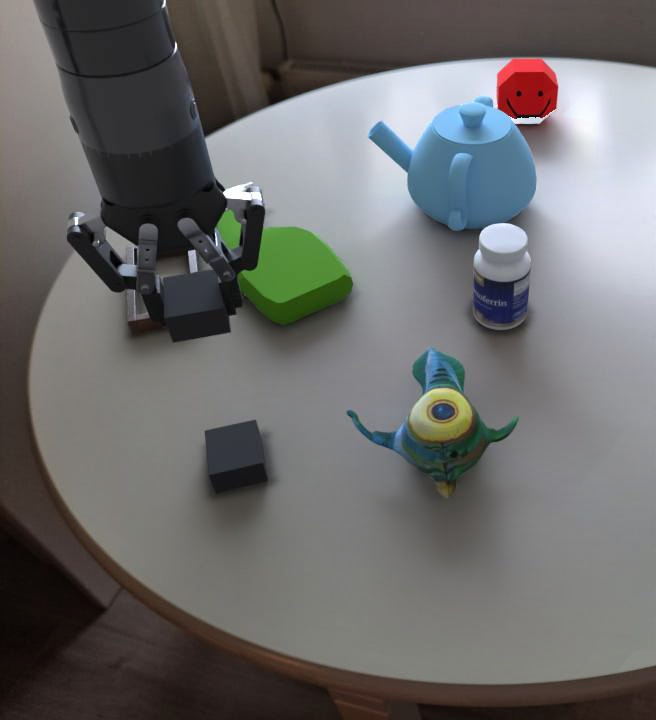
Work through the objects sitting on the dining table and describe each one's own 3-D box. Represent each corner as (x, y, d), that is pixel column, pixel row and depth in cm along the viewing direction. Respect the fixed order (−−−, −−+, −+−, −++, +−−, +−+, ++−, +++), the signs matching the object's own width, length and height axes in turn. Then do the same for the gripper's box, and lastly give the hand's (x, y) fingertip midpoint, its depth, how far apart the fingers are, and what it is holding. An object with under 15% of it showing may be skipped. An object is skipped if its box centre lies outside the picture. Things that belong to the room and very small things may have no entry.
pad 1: (172, 343, 62) (163, 318, 60) (171, 301, 66) (162, 277, 64) (231, 332, 63) (223, 308, 61) (226, 292, 66) (219, 267, 65)
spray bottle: (271, 334, 82) (179, 220, 95) (364, 293, 86) (263, 190, 100) (265, 312, 79) (172, 199, 93) (361, 271, 84) (259, 169, 98)
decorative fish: (538, 433, 73) (542, 389, 69) (447, 520, 66) (446, 477, 62) (433, 365, 79) (431, 321, 75) (341, 439, 72) (333, 395, 68)
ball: (498, 132, 110) (500, 79, 104) (495, 103, 116) (496, 51, 110) (556, 132, 110) (561, 79, 105) (550, 103, 116) (555, 51, 110)
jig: (132, 335, 81) (127, 321, 80) (130, 258, 90) (125, 245, 88) (205, 321, 83) (201, 308, 82) (197, 247, 91) (193, 234, 90)
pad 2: (215, 493, 68) (208, 475, 66) (210, 448, 71) (204, 430, 69) (268, 481, 69) (262, 462, 67) (261, 437, 72) (256, 418, 70)
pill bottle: (461, 317, 84) (461, 240, 77) (492, 288, 87) (495, 212, 80) (507, 340, 82) (512, 263, 74) (537, 309, 85) (544, 232, 78)
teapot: (523, 260, 91) (530, 162, 81) (351, 239, 93) (339, 141, 84) (543, 166, 104) (551, 73, 95) (393, 150, 106) (386, 57, 97)
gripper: (245, 79, 56) (284, 271, 68) (24, 105, 53) (106, 300, 65) (256, 133, 51) (295, 329, 63) (12, 165, 48) (103, 364, 60)
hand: (199, 314), depth 64 cm, fingers closed on pad 1, 4 cm apart
